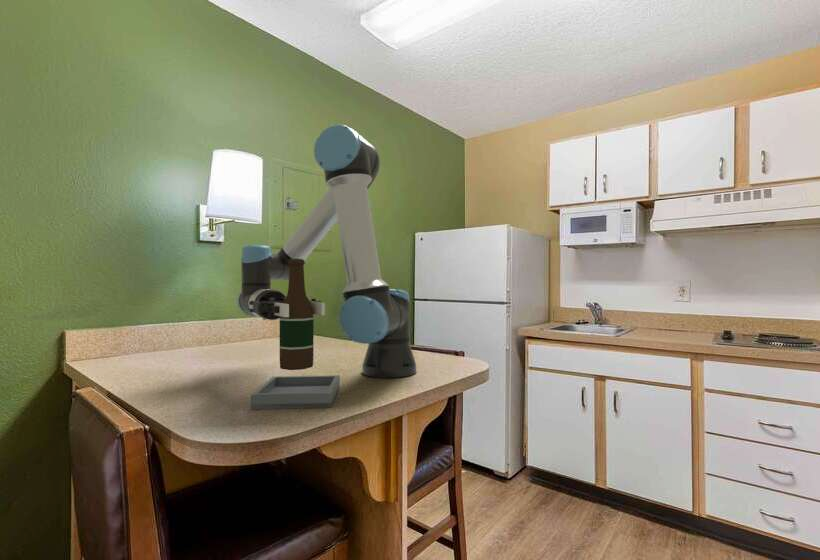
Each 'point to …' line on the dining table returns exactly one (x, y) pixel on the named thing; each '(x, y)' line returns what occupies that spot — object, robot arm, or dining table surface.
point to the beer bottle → (296, 323)
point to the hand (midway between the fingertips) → (305, 309)
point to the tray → (296, 392)
